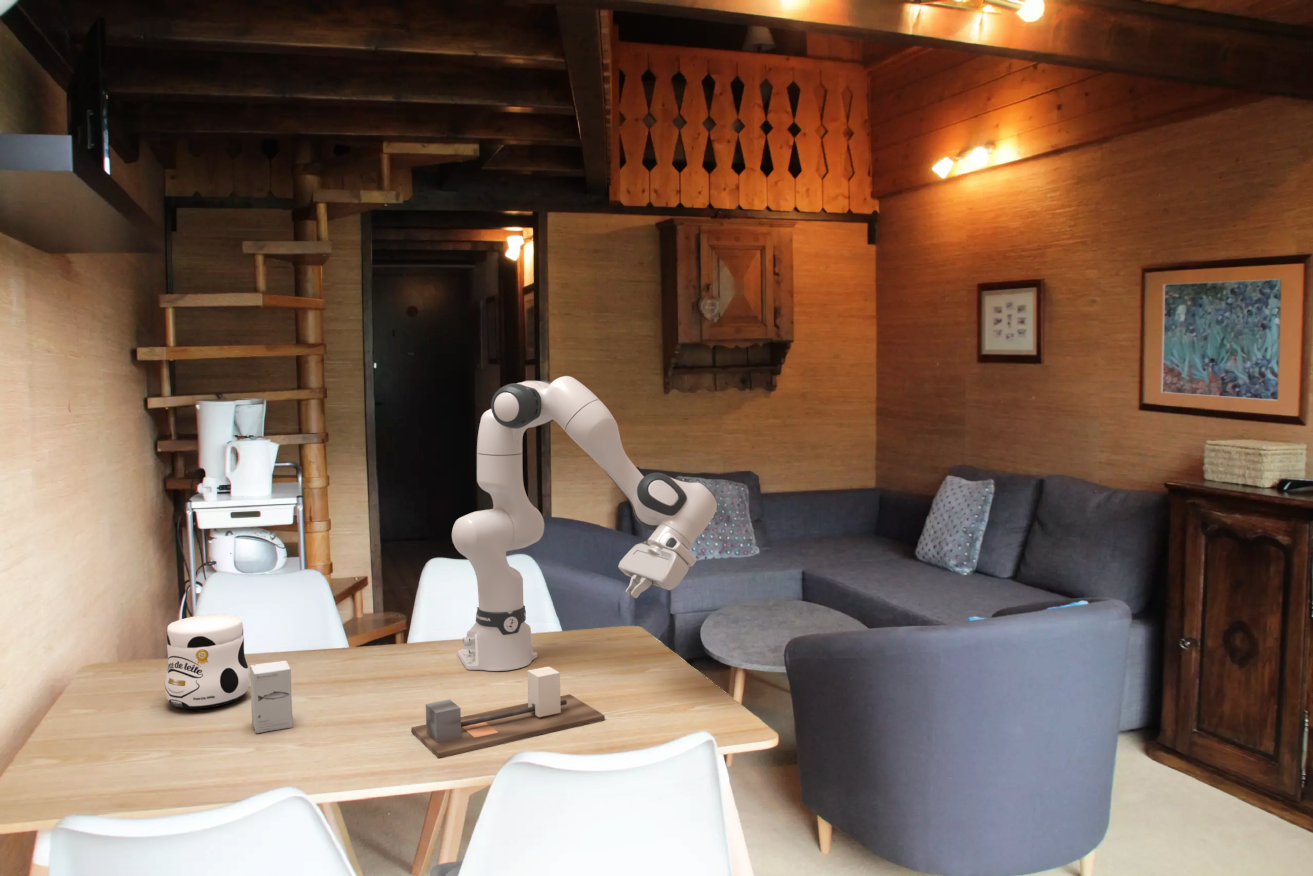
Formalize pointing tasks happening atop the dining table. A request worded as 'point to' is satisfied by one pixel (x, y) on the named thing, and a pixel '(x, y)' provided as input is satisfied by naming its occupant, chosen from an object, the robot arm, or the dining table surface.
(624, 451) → the robot arm
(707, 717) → the dining table surface
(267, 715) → the supplement box
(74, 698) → the dining table surface
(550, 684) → the cream sliding block
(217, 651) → the milk container
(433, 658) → the dining table surface
